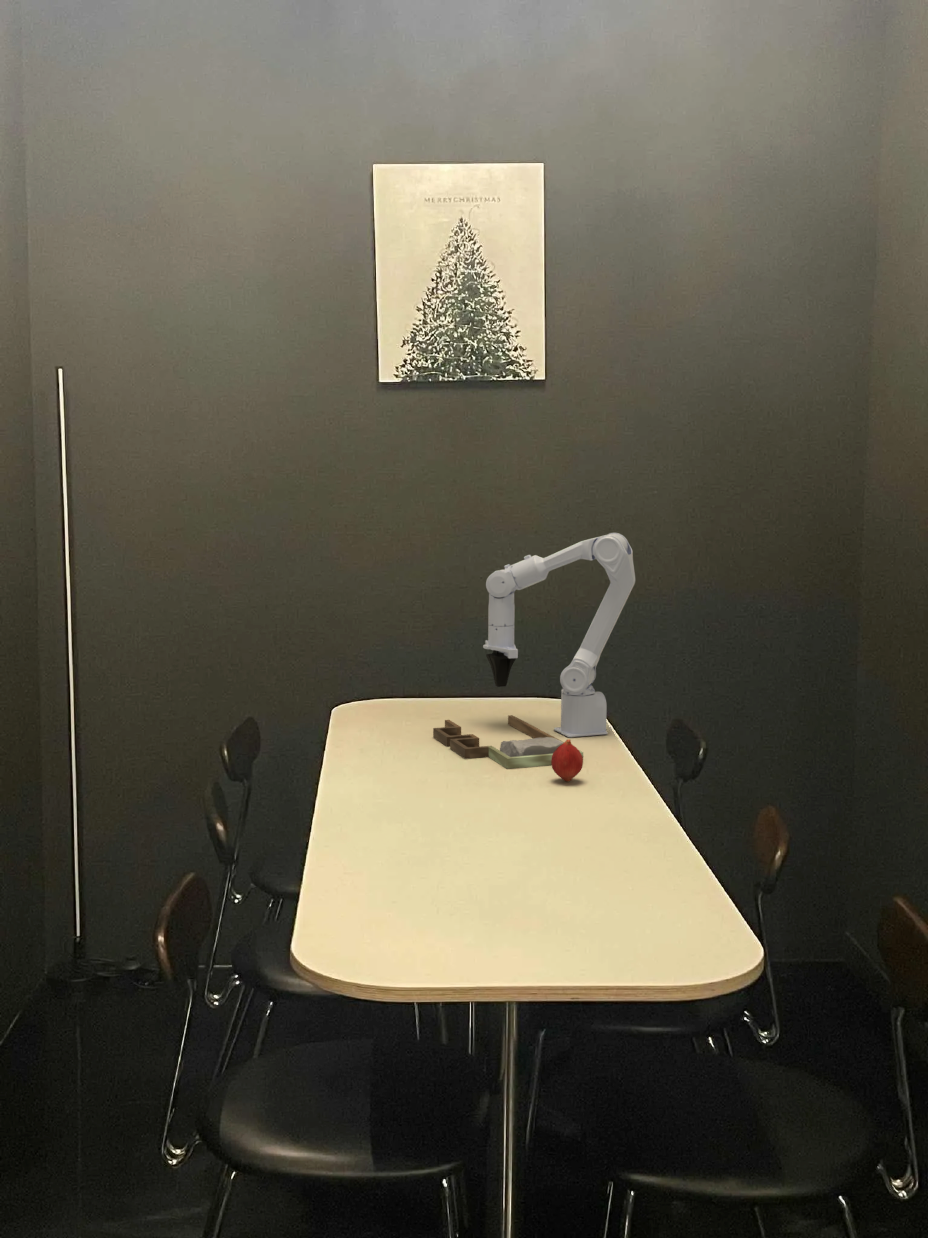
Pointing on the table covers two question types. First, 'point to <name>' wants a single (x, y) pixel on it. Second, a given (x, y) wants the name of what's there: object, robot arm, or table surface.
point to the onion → (567, 761)
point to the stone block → (530, 746)
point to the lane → (470, 746)
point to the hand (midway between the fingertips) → (500, 686)
